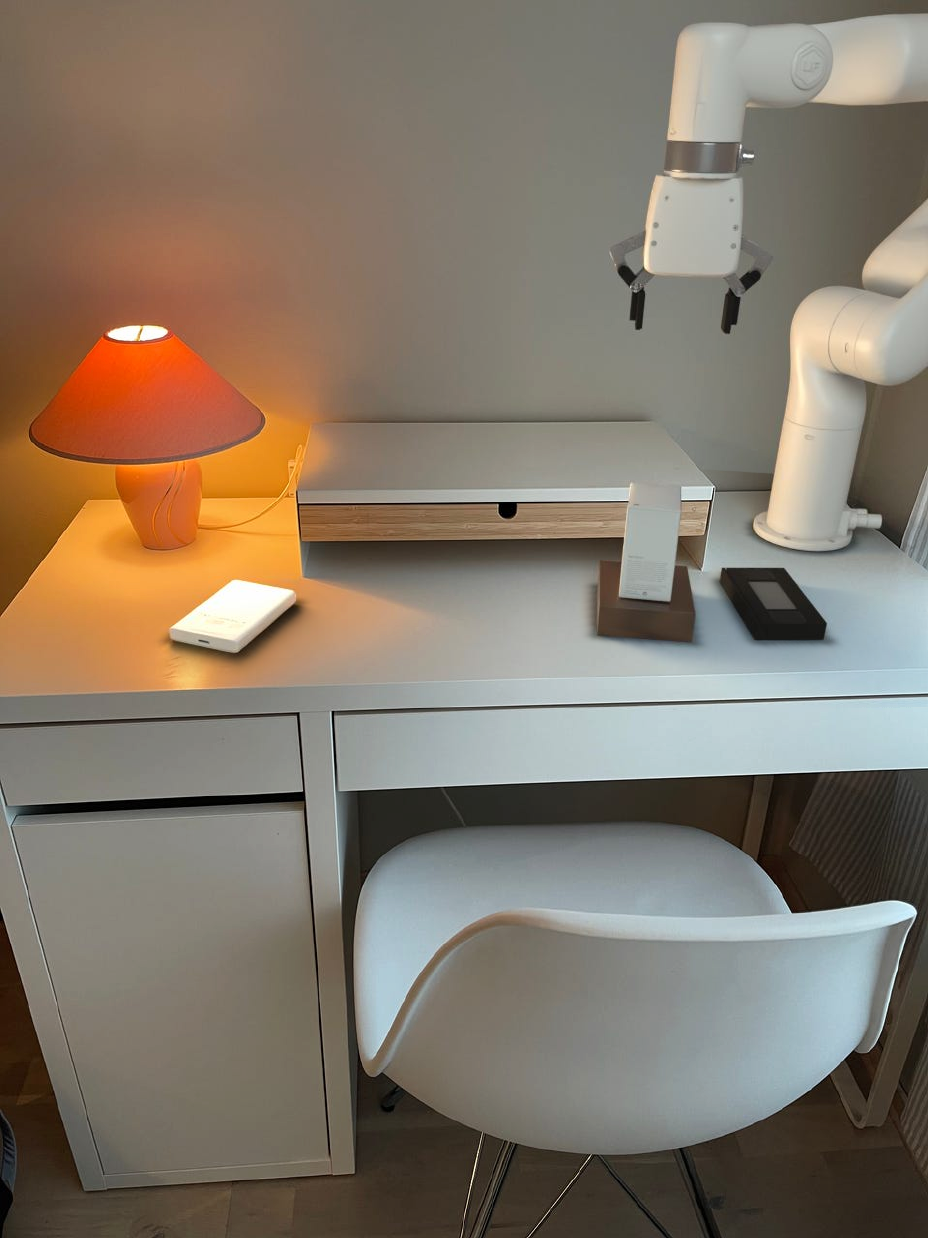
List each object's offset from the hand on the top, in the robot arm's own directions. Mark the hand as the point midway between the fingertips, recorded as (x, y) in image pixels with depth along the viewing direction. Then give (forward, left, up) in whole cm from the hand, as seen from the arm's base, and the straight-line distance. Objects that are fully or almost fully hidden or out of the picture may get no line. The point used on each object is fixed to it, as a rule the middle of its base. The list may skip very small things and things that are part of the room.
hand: (681, 329), depth 111 cm
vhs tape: (-12, +12, -28) cm, 33 cm away
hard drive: (+46, +24, -28) cm, 59 cm away
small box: (+2, +15, -25) cm, 29 cm away
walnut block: (+2, +15, -28) cm, 32 cm away
